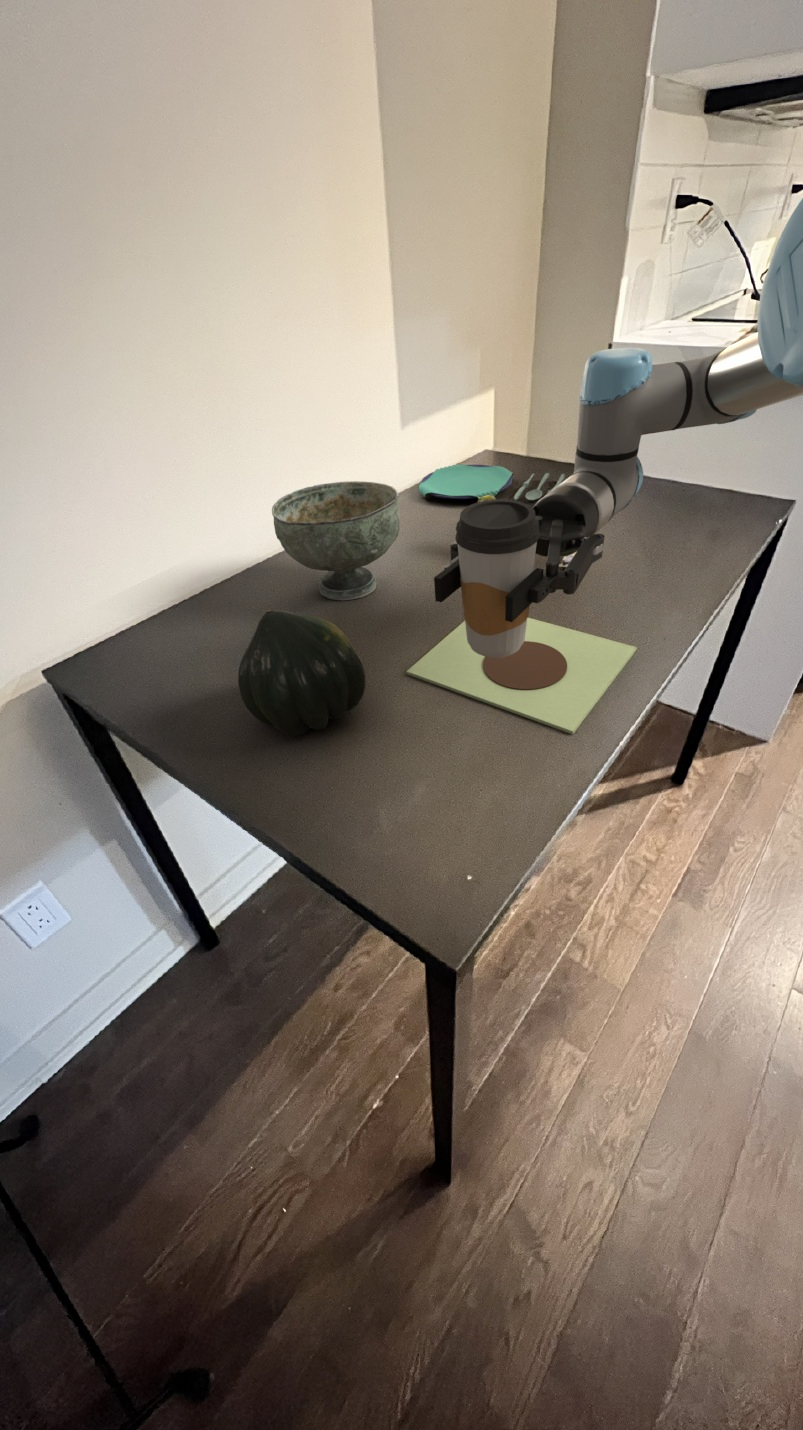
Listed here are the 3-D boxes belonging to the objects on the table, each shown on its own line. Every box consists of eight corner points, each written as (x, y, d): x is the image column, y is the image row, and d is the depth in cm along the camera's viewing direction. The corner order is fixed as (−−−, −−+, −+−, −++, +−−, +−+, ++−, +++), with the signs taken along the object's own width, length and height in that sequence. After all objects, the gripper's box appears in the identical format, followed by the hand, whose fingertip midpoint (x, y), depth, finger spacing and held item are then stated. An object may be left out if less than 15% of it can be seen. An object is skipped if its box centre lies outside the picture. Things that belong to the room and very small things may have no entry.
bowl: (413, 558, 111) (406, 473, 102) (396, 614, 97) (386, 520, 87) (307, 559, 115) (291, 477, 105) (275, 613, 100) (253, 523, 91)
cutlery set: (440, 470, 146) (439, 460, 144) (569, 478, 135) (570, 467, 133) (406, 502, 132) (405, 492, 131) (547, 514, 121) (548, 502, 120)
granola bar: (566, 551, 108) (567, 545, 107) (580, 552, 107) (580, 547, 107) (557, 568, 103) (558, 563, 103) (571, 570, 103) (572, 564, 102)
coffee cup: (545, 632, 71) (554, 503, 61) (514, 671, 66) (519, 537, 56) (479, 617, 75) (478, 493, 65) (445, 653, 70) (438, 523, 60)
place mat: (636, 650, 84) (637, 645, 84) (572, 734, 72) (573, 730, 72) (482, 607, 96) (482, 603, 96) (406, 674, 84) (406, 670, 84)
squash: (385, 706, 71) (342, 581, 71) (256, 749, 68) (212, 618, 68) (369, 715, 85) (333, 611, 85) (261, 751, 82) (225, 643, 82)
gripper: (649, 561, 73) (564, 658, 60) (495, 530, 83) (394, 607, 70) (660, 497, 68) (571, 588, 55) (496, 473, 78) (387, 544, 65)
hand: (472, 599), depth 62 cm, fingers closed on coffee cup, 7 cm apart
